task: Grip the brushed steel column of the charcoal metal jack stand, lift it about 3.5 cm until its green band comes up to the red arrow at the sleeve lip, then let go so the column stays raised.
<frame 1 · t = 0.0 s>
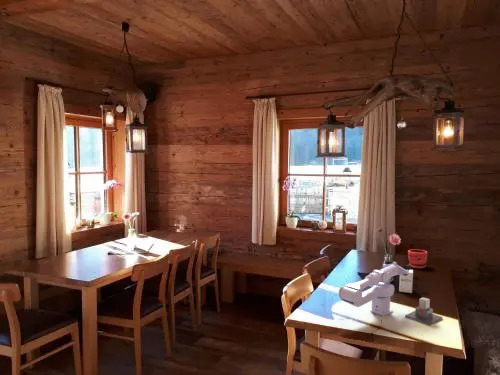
hand: (403, 265, 228), 22 cm above the table, tool horizontal, fingers open, 7 cm apart
plant pot: (416, 266, 304), on the table
stand base: (423, 318, 210), on the table
supplement box: (405, 291, 251), on the table
column: (424, 307, 209), point 6 cm above the table, slide at 0.0 cm
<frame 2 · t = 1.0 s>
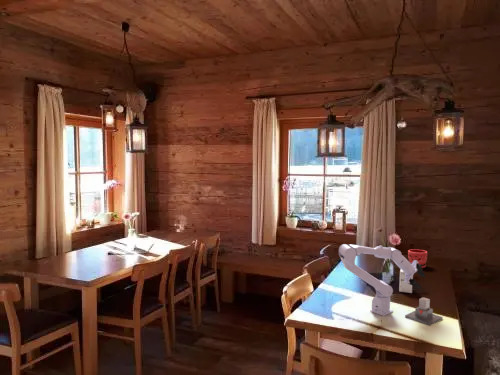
hand: (421, 282, 219), 15 cm above the table, tool tilted 45°, fingers open, 7 cm apart
nothing on the table moved.
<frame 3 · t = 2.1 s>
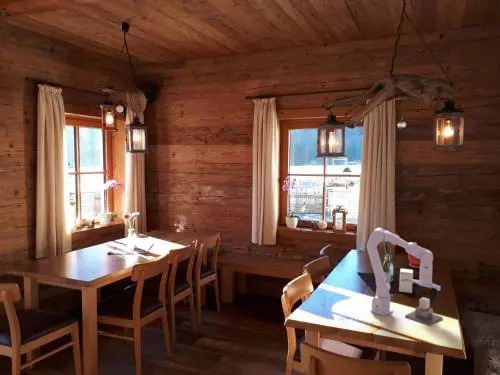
hand: (424, 300, 209), 9 cm above the table, tool pointing down, fingers open, 7 cm apart
nothing on the table moved.
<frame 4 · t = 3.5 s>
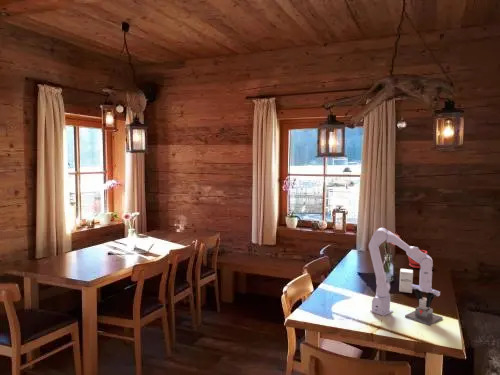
hand: (424, 305, 209), 6 cm above the table, tool pointing down, fingers closed on column, 4 cm apart
column: (424, 307, 209), point 6 cm above the table, slide at 0.0 cm, touching gripper
everything else where it was.
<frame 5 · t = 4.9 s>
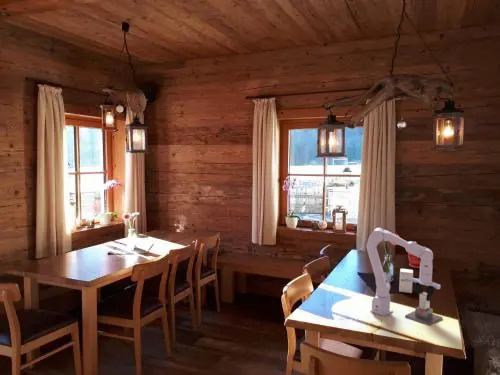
hand: (424, 299, 209), 10 cm above the table, tool pointing down, fingers closed on column, 4 cm apart
column: (424, 301, 209), point 8 cm above the table, slide at 2.8 cm, touching gripper
everything else where it was.
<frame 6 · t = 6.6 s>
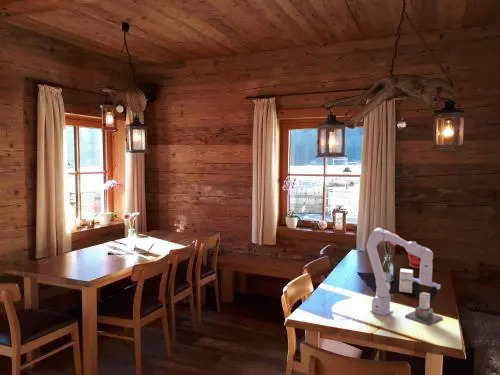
hand: (424, 299, 209), 10 cm above the table, tool pointing down, fingers open, 7 cm apart
column: (424, 301, 209), point 8 cm above the table, slide at 2.8 cm
everything else where it was.
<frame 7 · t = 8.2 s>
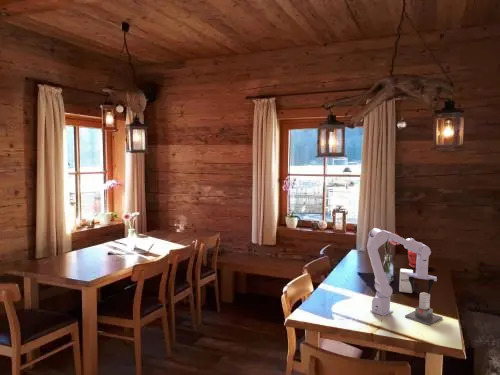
hand: (420, 292, 218), 10 cm above the table, tool pointing down, fingers open, 7 cm apart
nothing on the table moved.
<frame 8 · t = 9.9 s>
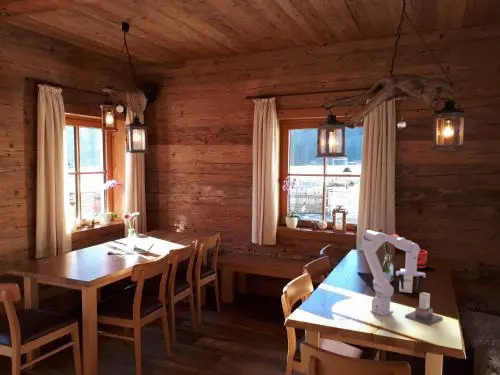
hand: (409, 289, 223), 10 cm above the table, tool pointing down, fingers open, 7 cm apart
nothing on the table moved.
at the end: column slide at 2.8 cm; the gripper is holding nothing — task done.
